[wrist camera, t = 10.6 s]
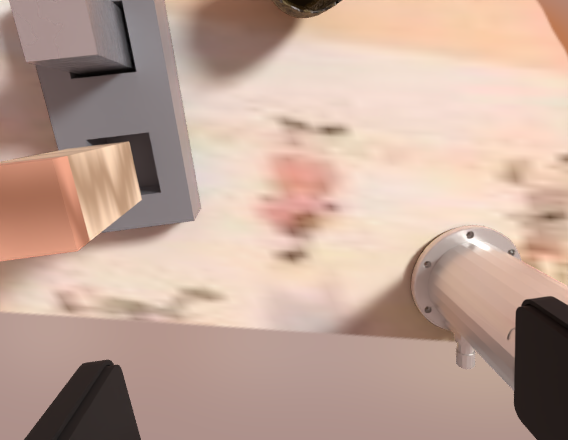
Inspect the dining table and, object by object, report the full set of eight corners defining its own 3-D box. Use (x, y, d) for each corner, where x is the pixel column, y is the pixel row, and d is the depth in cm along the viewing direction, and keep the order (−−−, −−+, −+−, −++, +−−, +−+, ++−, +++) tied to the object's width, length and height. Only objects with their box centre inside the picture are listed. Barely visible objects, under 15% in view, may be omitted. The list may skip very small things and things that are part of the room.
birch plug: (141, 199, 30) (77, 251, 19) (83, 207, 29) (-18, 263, 18) (129, 141, 28) (52, 159, 17) (67, 148, 28) (-50, 171, 17)
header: (201, 207, 40) (194, 220, 35) (102, 220, 39) (81, 235, 34) (160, -24, 34) (145, -46, 29) (43, -12, 34) (9, -33, 29)
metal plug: (145, 72, 35) (97, 54, 24) (96, 78, 35) (25, 62, 24) (134, 20, 34) (79, -25, 23) (84, 25, 34) (4, -17, 23)
